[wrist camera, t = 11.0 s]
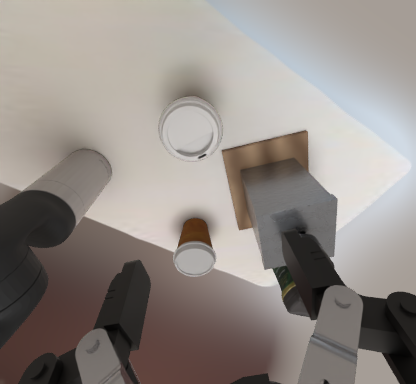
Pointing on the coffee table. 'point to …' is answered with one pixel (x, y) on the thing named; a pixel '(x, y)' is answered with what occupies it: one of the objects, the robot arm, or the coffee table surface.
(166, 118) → the coffee cup
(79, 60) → the coffee table surface
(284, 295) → the coffee jar
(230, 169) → the walnut board
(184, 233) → the disposable coffee cup
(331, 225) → the silver block with slot
